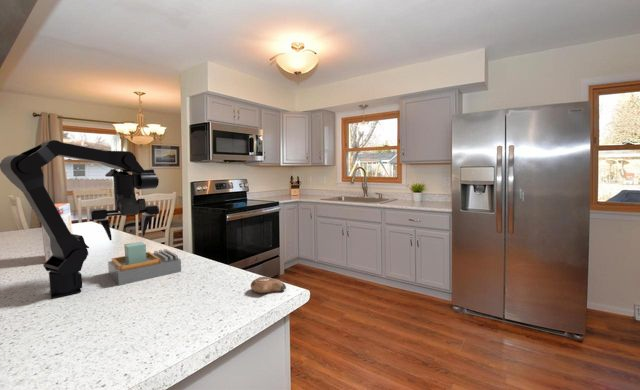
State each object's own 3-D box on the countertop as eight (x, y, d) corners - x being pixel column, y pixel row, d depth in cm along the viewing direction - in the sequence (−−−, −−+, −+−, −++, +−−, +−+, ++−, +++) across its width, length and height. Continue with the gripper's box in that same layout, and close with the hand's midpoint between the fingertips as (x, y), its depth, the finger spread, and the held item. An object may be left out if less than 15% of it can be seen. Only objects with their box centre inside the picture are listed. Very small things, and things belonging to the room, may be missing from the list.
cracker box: (56, 254, 127) (52, 203, 125) (74, 252, 130) (71, 202, 128) (43, 263, 114) (38, 207, 113) (64, 261, 117) (59, 206, 115)
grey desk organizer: (118, 285, 92) (117, 268, 92) (108, 273, 103) (107, 258, 103) (181, 271, 105) (180, 256, 104) (166, 261, 116) (165, 248, 115)
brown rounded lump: (268, 303, 82) (288, 293, 88) (269, 288, 81) (289, 279, 88) (245, 291, 87) (266, 282, 94) (246, 277, 86) (267, 270, 93)
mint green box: (129, 265, 98) (128, 247, 98) (123, 260, 104) (122, 243, 103) (146, 262, 102) (145, 244, 101) (140, 257, 107) (139, 240, 107)
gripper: (92, 193, 89) (95, 247, 90) (162, 190, 101) (165, 237, 102) (87, 191, 97) (91, 240, 98) (153, 188, 109) (155, 232, 111)
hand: (127, 237), depth 102 cm, fingers open, 9 cm apart
